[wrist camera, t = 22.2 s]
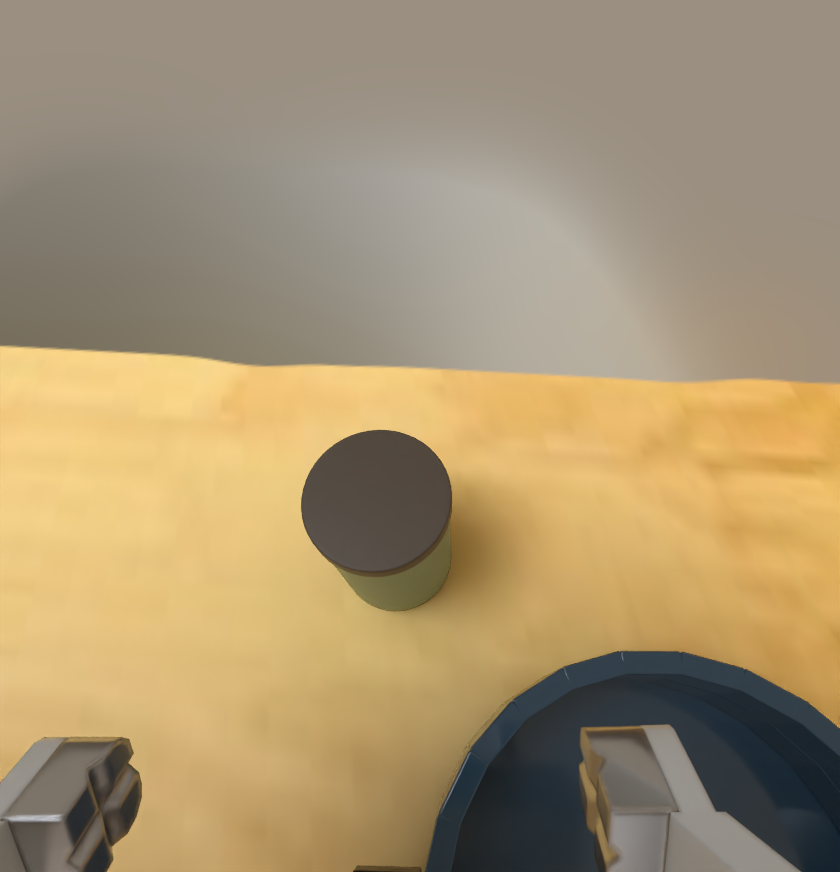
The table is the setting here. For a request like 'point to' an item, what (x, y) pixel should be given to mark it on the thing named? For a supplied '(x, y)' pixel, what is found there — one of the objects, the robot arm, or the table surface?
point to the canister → (382, 517)
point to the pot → (633, 706)
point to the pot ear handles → (386, 869)
